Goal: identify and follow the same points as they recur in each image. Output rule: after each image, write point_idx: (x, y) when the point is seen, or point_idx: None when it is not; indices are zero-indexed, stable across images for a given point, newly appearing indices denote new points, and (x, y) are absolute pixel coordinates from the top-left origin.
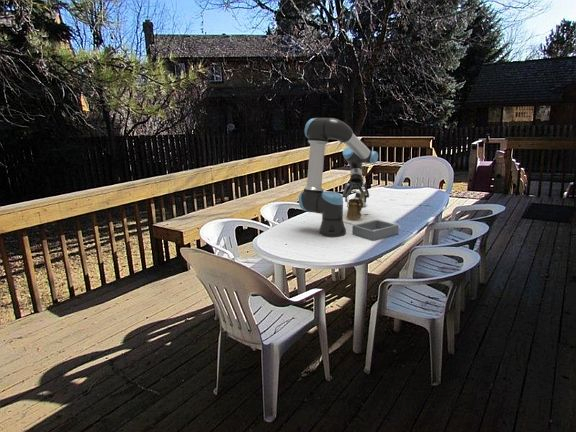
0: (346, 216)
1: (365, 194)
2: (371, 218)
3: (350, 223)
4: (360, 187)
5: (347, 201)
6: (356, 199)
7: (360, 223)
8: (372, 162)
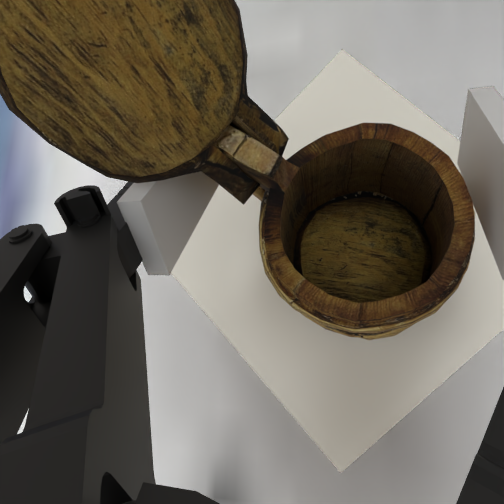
0: (452, 372)
1: (64, 119)
2: (185, 286)
3: (391, 88)
4: (45, 432)
5: (502, 116)
6: (303, 278)
7: (292, 101)
8: None
